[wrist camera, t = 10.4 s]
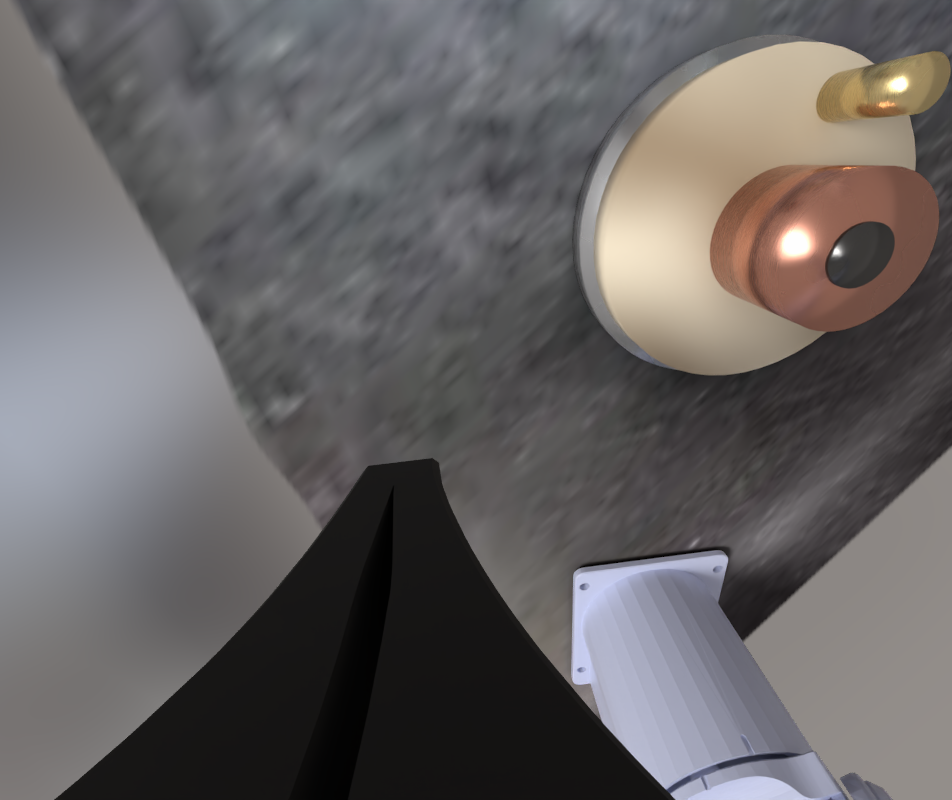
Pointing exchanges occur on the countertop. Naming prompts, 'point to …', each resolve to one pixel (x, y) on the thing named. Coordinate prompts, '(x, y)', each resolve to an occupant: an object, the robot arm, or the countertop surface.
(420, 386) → the countertop surface
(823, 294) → the cover
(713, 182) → the turntable
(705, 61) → the base
